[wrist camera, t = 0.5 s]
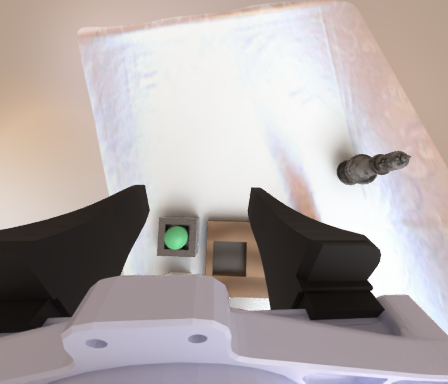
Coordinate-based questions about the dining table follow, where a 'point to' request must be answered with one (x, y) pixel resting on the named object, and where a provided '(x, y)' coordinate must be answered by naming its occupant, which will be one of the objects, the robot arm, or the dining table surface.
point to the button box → (190, 247)
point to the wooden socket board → (235, 259)
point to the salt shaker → (370, 167)
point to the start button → (176, 237)
